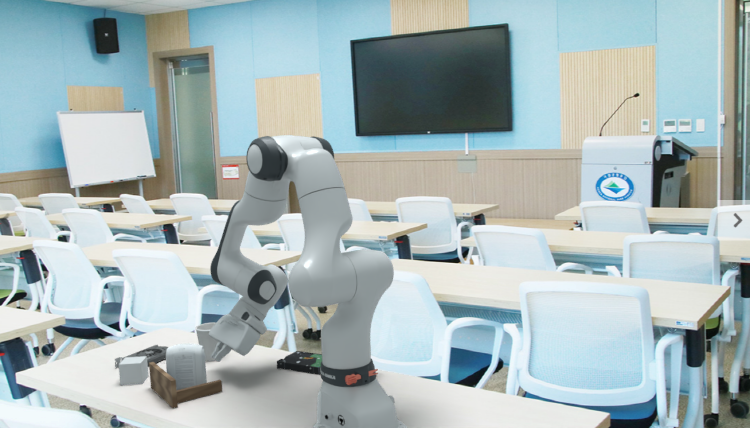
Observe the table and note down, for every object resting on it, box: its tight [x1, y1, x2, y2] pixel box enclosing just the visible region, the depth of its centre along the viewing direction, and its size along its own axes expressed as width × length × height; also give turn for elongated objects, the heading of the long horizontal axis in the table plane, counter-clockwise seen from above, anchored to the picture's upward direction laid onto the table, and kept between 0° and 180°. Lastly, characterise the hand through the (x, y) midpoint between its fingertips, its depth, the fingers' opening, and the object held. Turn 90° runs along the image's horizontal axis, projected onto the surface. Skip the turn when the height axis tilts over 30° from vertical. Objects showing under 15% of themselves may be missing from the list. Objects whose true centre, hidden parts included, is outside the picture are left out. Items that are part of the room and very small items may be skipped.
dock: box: [148, 362, 223, 409], centre depth 175 cm, size 18×14×7 cm
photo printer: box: [165, 342, 208, 390], centre depth 177 cm, size 10×4×12 cm, turn 92°
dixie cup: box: [195, 322, 218, 362], centre depth 202 cm, size 8×8×10 cm
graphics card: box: [114, 344, 169, 369], centre depth 202 cm, size 17×4×12 cm
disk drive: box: [276, 350, 322, 376], centre depth 192 cm, size 10×3×15 cm
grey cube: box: [118, 356, 149, 386], centre depth 185 cm, size 6×6×6 cm
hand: (214, 359), depth 180 cm, fingers closed
